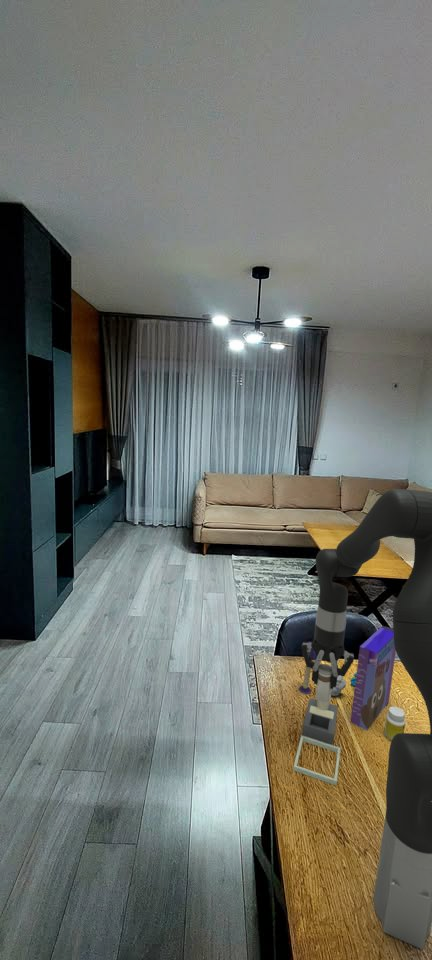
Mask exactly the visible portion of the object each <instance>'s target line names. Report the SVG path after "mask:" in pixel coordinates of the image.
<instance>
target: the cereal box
mask: <svg viewBox="0 0 432 960" xmlns="http://www.w3.org/2000/svg"><path fill="white" fill-rule="evenodd" d="M358 652H359V653H358V659H357V660H358V661H357V668H356V673H357V674H356V682H355V686H354V691H353V699H352V700H353V701H352V706H351V715H350V723H351V724H353V725H356V726H357V727H359V728H361V729H363V730H365V731H369V729H370V728H371V726H372V725H373V724H374V722H375V721H376V720H377V719H378V716H379V715H380V714H381V713H382V711H383V710H384V708H385V707H388V706H389V702H390V697H391V689H392V681H393V675H394V674H393V673H394V668H395V667H394V666H395V659H396V654H397V653H396V650H395V646H394V632H393V628H391V627H389V626H384V625H382V626H380V628H378V629H377V630H376V631H375V632H374V633H373V634H372V635H371V636H370V637H369V638H367V640H365V641H364V642H363V643H362V644H360V645H359V650H358Z"/></svg>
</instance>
